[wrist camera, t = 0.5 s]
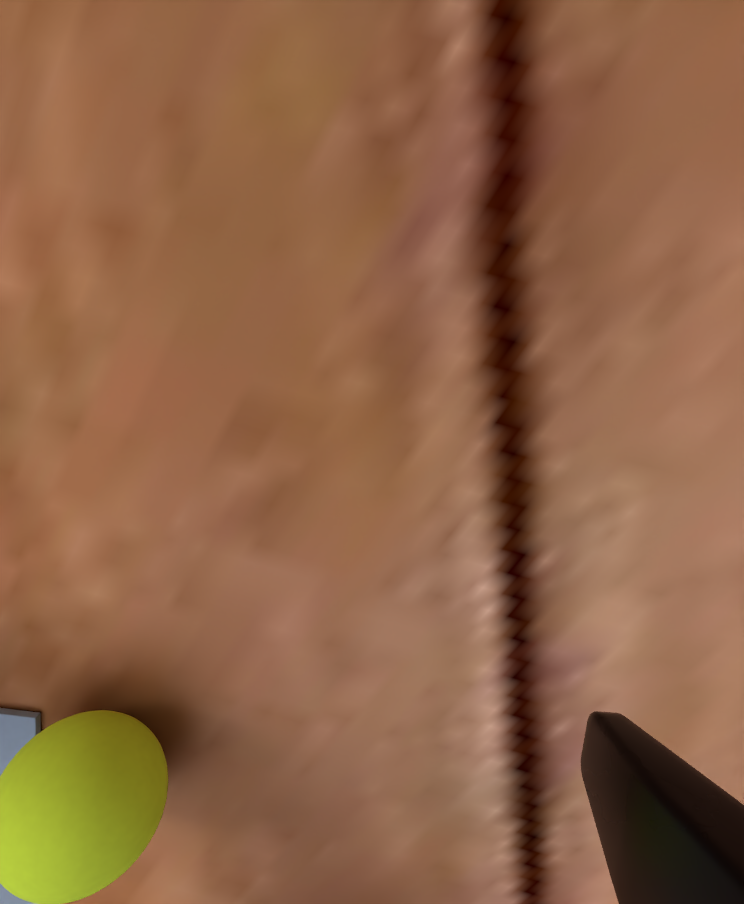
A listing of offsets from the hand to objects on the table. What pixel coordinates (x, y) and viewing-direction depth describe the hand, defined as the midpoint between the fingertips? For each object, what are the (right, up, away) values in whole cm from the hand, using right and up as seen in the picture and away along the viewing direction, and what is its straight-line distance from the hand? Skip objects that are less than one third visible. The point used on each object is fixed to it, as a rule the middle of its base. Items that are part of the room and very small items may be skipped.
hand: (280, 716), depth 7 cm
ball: (-11, -10, +17) cm, 22 cm away
